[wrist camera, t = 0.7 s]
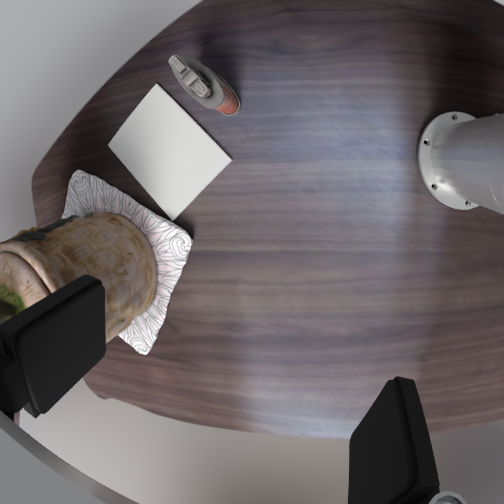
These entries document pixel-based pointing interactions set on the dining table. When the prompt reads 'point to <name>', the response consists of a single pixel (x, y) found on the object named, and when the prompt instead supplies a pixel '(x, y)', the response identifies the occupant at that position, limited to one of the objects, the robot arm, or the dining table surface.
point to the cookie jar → (99, 259)
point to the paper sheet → (168, 152)
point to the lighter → (205, 85)
